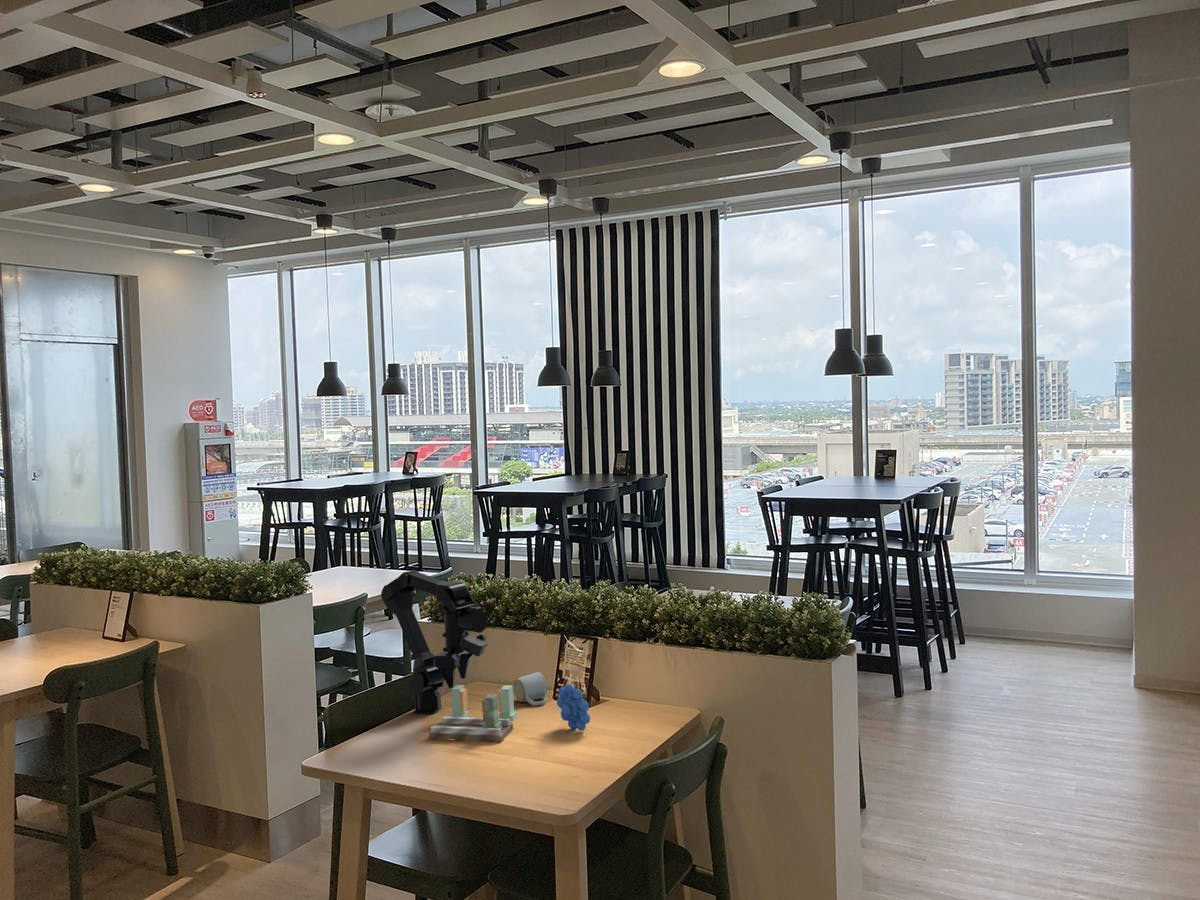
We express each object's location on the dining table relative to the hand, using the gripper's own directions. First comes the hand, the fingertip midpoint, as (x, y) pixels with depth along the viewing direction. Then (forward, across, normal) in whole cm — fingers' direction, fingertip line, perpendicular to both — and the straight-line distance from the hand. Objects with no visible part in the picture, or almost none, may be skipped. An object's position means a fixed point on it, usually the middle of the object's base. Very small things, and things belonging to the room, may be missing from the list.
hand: (457, 683), depth 270 cm
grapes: (+10, -6, -34) cm, 36 cm away
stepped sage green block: (+10, 0, 0) cm, 10 cm away
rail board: (+10, -12, -8) cm, 18 cm away
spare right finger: (+10, +1, -14) cm, 17 cm away
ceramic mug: (+10, +18, -16) cm, 26 cm away
